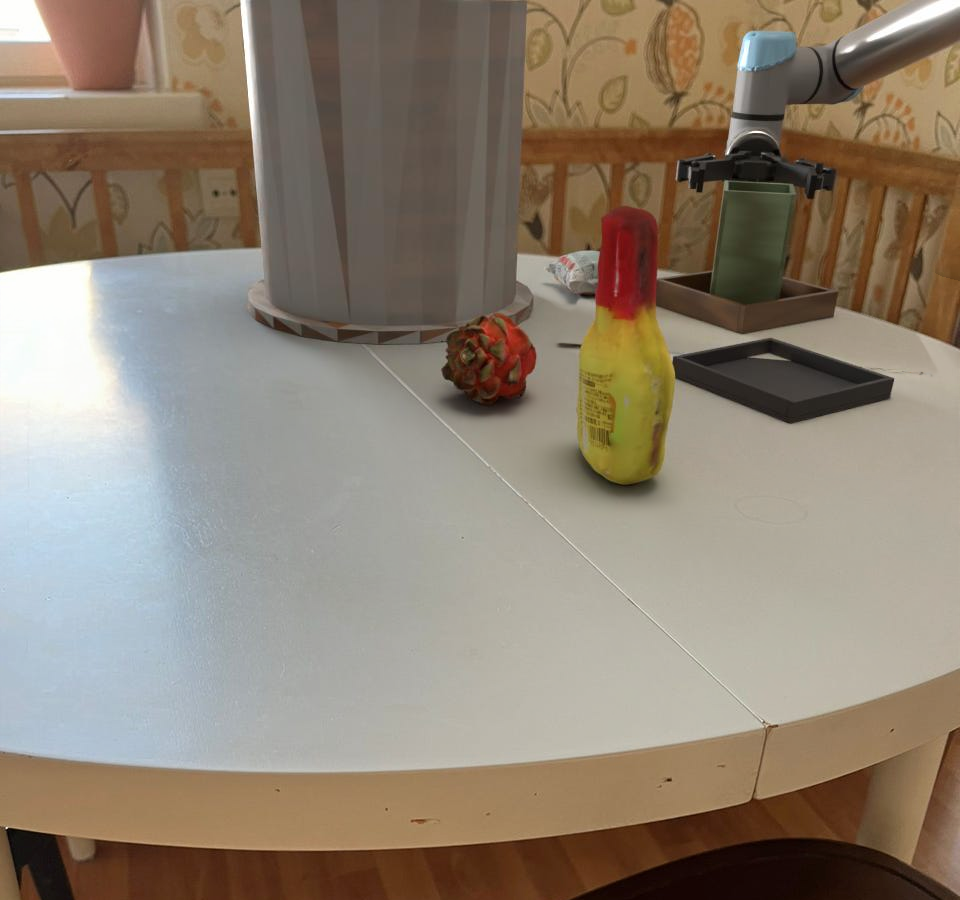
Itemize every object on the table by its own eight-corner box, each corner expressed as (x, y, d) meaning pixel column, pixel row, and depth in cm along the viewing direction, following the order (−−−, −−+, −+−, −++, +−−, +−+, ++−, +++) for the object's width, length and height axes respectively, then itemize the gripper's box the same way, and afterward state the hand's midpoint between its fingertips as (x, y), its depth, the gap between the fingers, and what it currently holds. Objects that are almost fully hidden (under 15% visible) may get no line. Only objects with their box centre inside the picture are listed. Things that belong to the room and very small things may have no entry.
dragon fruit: (469, 436, 96) (488, 411, 107) (547, 385, 93) (559, 365, 104) (417, 355, 94) (441, 339, 104) (495, 301, 91) (512, 290, 102)
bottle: (555, 443, 90) (570, 195, 80) (625, 439, 92) (649, 193, 81) (599, 499, 80) (623, 224, 70) (677, 493, 82) (712, 222, 71)
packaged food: (567, 304, 131) (570, 263, 128) (542, 282, 141) (545, 244, 138) (633, 303, 133) (638, 263, 130) (604, 282, 142) (608, 243, 140)
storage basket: (311, 360, 109) (287, -4, 92) (210, 286, 135) (178, -9, 118) (588, 322, 124) (612, 3, 107) (450, 262, 150) (452, -2, 133)
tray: (890, 398, 103) (895, 378, 102) (790, 423, 96) (794, 402, 95) (767, 355, 114) (770, 337, 113) (670, 375, 107) (672, 356, 106)
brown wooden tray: (832, 321, 127) (838, 291, 125) (740, 339, 119) (745, 307, 117) (739, 293, 138) (743, 265, 136) (650, 308, 130) (653, 278, 128)
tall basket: (773, 304, 131) (793, 183, 124) (775, 320, 124) (796, 194, 117) (708, 299, 132) (724, 180, 125) (707, 315, 126) (724, 190, 118)
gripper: (839, 195, 147) (853, 222, 130) (661, 185, 151) (651, 210, 134) (850, 136, 143) (867, 156, 126) (667, 127, 147) (658, 145, 130)
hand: (756, 184), depth 130 cm, fingers open, 13 cm apart
